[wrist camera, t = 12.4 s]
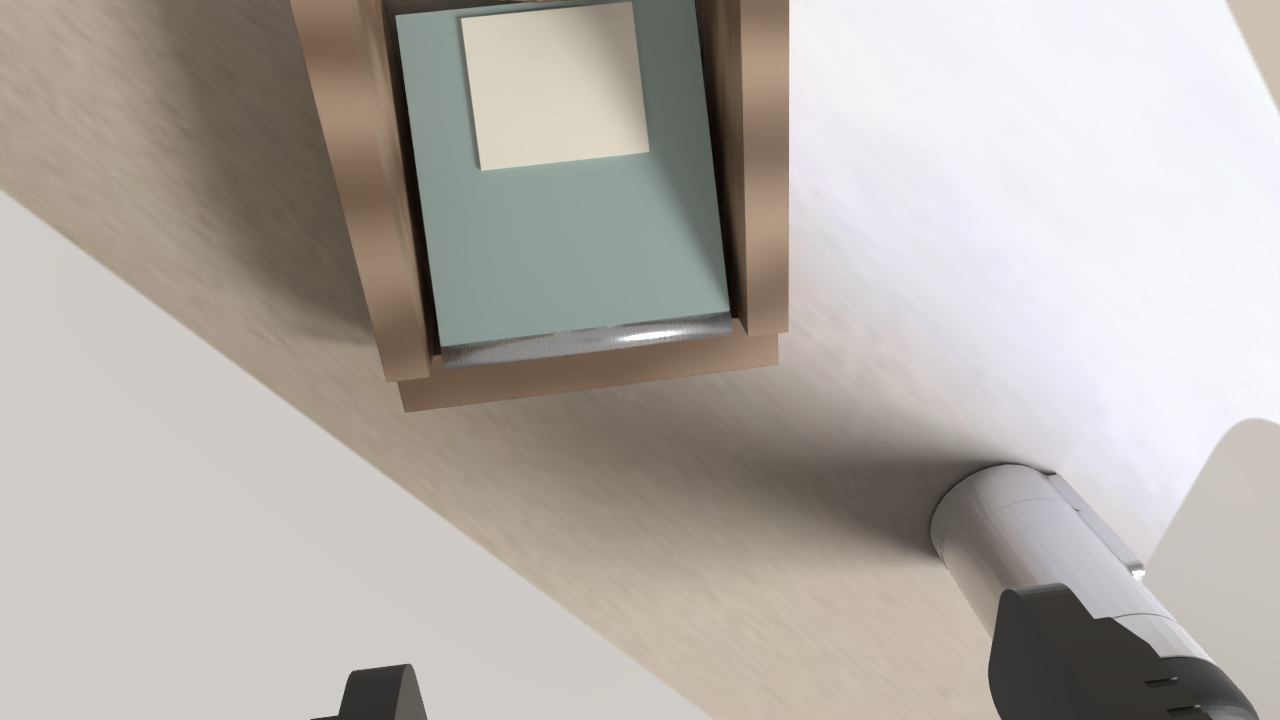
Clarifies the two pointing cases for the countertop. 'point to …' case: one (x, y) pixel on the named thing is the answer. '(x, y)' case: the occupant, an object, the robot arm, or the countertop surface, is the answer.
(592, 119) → the trapdoor
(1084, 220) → the countertop surface
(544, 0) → the sauce bottle
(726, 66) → the frame
